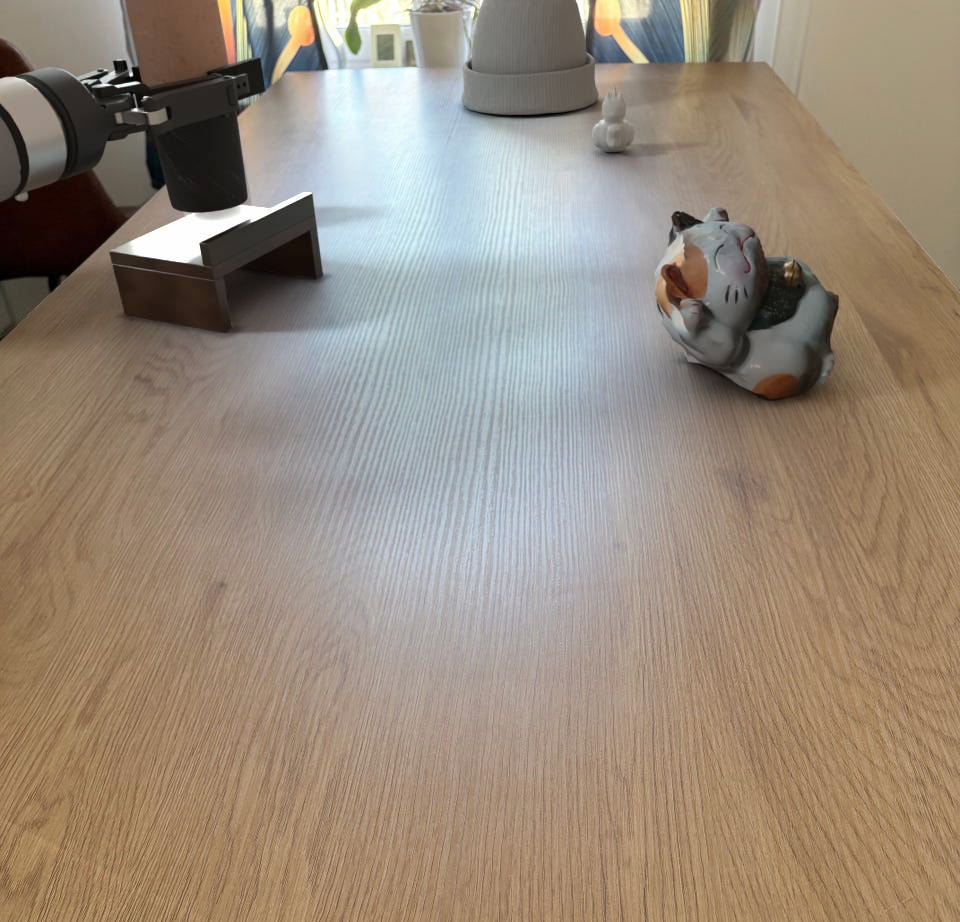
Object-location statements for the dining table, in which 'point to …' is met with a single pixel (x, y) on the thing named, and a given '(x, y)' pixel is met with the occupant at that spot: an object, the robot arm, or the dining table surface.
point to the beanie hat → (529, 59)
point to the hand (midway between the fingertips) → (222, 72)
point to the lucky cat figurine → (744, 307)
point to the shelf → (213, 260)
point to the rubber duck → (613, 125)
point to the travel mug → (201, 145)
